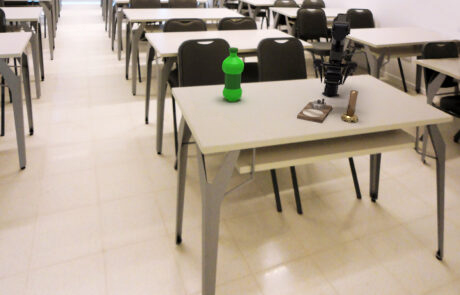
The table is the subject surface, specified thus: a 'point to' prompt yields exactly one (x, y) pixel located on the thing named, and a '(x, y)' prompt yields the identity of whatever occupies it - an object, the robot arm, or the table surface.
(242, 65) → the plastic bottle
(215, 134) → the table surface
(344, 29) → the robot arm
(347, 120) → the brass gear
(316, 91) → the table surface
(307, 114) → the gear board
